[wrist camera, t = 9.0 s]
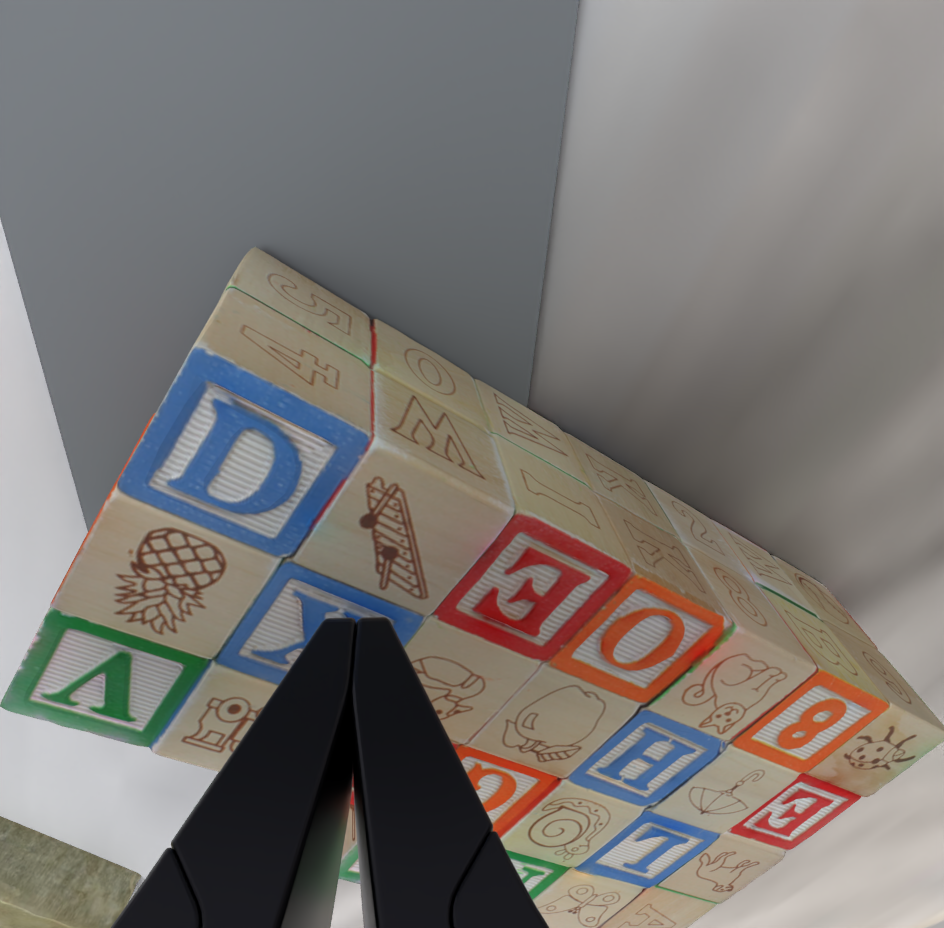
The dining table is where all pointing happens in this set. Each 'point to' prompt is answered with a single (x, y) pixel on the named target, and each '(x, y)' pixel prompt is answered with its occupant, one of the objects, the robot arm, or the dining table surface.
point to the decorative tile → (57, 883)
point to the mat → (272, 181)
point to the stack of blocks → (469, 612)
